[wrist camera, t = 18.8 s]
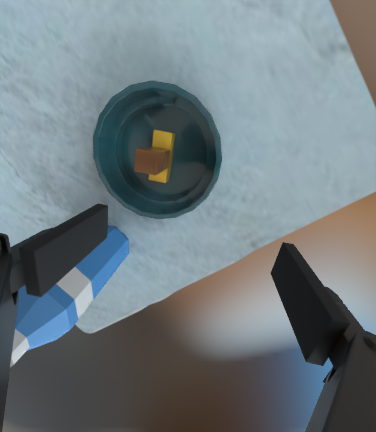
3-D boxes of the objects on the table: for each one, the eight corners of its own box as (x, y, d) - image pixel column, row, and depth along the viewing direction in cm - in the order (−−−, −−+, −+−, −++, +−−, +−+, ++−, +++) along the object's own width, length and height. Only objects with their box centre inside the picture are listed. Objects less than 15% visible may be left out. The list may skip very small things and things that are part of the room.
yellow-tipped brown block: (158, 130, 34) (137, 127, 25) (175, 133, 34) (160, 131, 25) (153, 176, 37) (132, 189, 28) (169, 179, 37) (153, 193, 28)
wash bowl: (114, 82, 33) (92, 70, 27) (232, 102, 32) (236, 94, 26) (111, 195, 41) (93, 205, 35) (207, 215, 40) (206, 229, 33)
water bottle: (82, 230, 45) (-63, 329, 21) (118, 219, 42) (2, 317, 19) (101, 265, 47) (-9, 386, 24) (136, 256, 45) (52, 381, 22)
